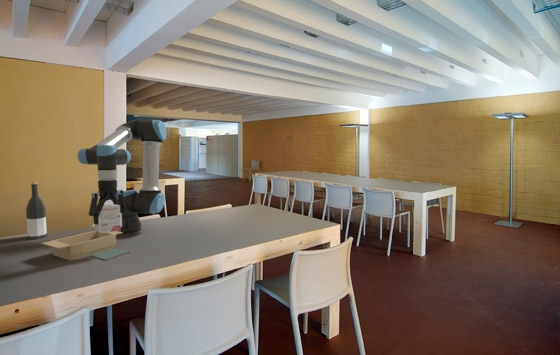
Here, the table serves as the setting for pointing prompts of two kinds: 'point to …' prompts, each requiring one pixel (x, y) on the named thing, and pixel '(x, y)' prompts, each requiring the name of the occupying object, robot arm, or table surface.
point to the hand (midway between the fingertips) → (109, 228)
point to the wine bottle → (36, 215)
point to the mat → (109, 254)
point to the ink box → (110, 218)
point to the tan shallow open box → (83, 244)
